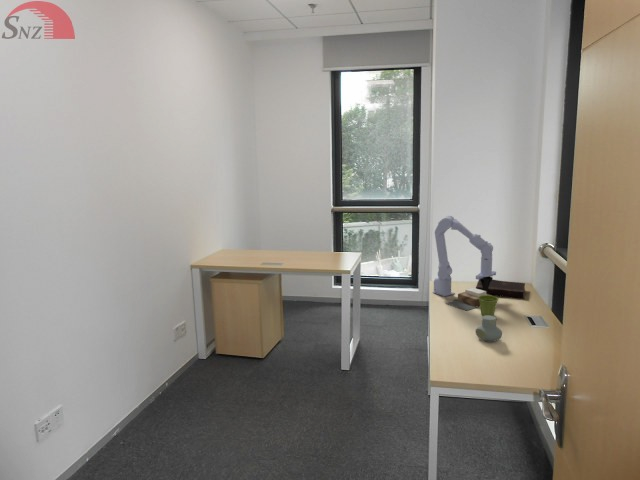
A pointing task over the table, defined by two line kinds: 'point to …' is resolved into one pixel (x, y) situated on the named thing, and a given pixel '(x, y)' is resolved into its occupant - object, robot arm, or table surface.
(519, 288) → the diary
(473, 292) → the off-white rectangular block
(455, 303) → the mat
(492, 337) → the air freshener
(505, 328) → the table surface
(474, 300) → the brown shallow square box
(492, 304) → the plant pot
